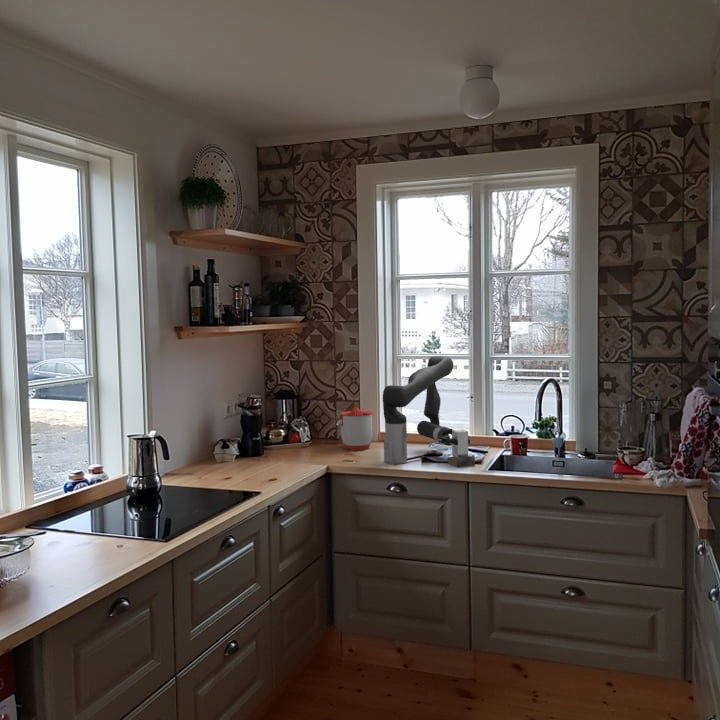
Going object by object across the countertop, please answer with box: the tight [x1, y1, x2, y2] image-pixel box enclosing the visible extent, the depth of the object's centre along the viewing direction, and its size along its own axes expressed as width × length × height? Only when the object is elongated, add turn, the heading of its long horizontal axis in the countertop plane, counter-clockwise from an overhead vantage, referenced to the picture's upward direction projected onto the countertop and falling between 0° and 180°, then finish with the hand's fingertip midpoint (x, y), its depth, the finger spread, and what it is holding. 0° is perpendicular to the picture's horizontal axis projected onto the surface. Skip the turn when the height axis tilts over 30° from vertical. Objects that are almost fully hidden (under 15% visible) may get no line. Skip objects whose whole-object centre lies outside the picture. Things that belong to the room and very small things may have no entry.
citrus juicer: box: [336, 406, 373, 451], centre depth 342 cm, size 16×17×20 cm
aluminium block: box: [451, 429, 469, 458], centre depth 304 cm, size 5×5×11 cm
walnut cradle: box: [447, 455, 476, 468], centre depth 304 cm, size 8×9×4 cm
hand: (463, 442), depth 302 cm, fingers closed on aluminium block, 5 cm apart
